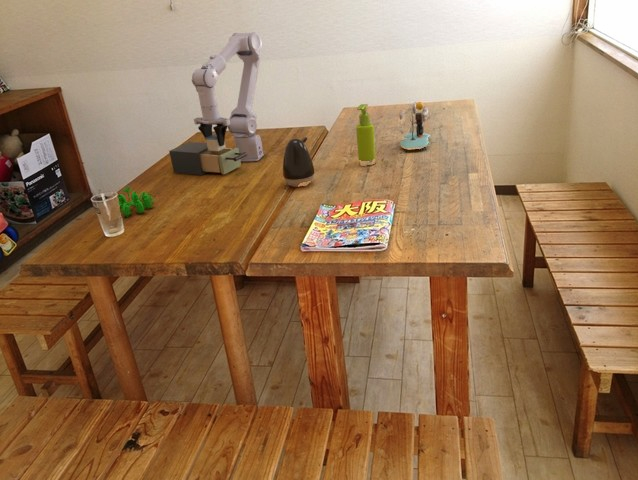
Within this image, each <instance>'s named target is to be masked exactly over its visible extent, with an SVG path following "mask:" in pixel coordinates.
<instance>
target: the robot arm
mask: <svg viewBox="0 0 638 480" xmlns="http://www.w3.org/2000/svg"><path fill="white" fill-rule="evenodd" d="M262 47H263V41H262V39H261V37H260V35H259V34H258V33H257V32H256V31H252V32H233V33H232V34H231V36H229V38H228V42H227V43H226V44H225V46H224V47H223V48H222V49H221V51H220V52H219V53H218V54H210V56H209V59H208V60H207V61H206V62H205V63H203V64H202V65H201V67H200V68H197V69H195V70H194V71H193V73H192V75H191V76H192V77H191V78H192V79H191V83H192V85H193V86H194V88H195V91H196V93H197V96H198V100H199V105H200V111H201V116H202V117H195V118H193V122H194V125H199V126H198V130H199V131H200V133H201V134H202V136H203V137H204V139H205V140H206V137H208V136H211V135H213V131H214V134H216V135H217V139H218V143H219V146H223V145H224V142H225V143H226V141H225V140H226V132H227V129H228V131H229V132H230V133H231V135H232V137H233V138H234V144H235V148H239V153H244V152H246V153H247V156H245V157H243V158H241V159H240V160H241V163H242V162H258V161H259V160H261V159H262V158H263V157H264V156H265V153H264V149H263V142H262V138H261V135H260V134H256V132H257V128H258V127H257V126H258V123H257V118H258V117H257V115H256V112H254V111H253V106H254V105H253V104H254V98H255V92H256V87H257V80H258V74H259V69H260V59H261V52H262ZM235 55H237V57H238V58H239V59H240V60H242V62H243V67H242V74H241V81H240V86H239V91H238V98H237V103H236V104H237V105H236V107H235V108H234V109H233V110H231V112H230V116H229V118H225V117H222V116H220V112H219V107H218V101H217V95H216V90H215V86H216V85H217V80H218V77H219V76H220V75H221V74H222V73H223V71H224V70H225V69H226V68H227V62H228V61H230V60H231V59H232V58H233V57H234V56H235ZM213 125H214V126H213Z"/></svg>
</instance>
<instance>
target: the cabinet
mask: <svg viewBox="0 0 638 480" xmlns="http://www.w3.org/2000/svg"><path fill="white" fill-rule="evenodd" d="M207 150H208V147H207V142H197V141H195V142H194V141H188V142H186V143H184V144H181V145H179V146H177V147H174V148H172V149H170V150H168V153H169V156H170V161H171V167H172V170H173V174H182V175H194V176H204V175H205V174H207V173H209V172H206V171H202V167H201V162H200V157H199V154H200V153H203V152H205V151H207Z"/></svg>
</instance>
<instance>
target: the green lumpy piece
mask: <svg viewBox="0 0 638 480" xmlns="http://www.w3.org/2000/svg"><path fill="white" fill-rule="evenodd" d="M130 191H132V188H131V187H126V188H124V189H123V192H124V193H127V196H128V201H129V202H128V201H127V198H126V197H125V196H124V194H122V193H120V194H118V195H117V198H119V199H118V200H119V202H118V203H119V204H118V205H119V209H120V212H121V214H122V213H123V215H124V216H125V217H126V218H128V217H130V215H131V213H132V212H131V208H130V207H131V206H134V207H135V209H136V212H137V213H139V214H144V212H145V209H148V210H150V209H152V208H153V207H154V205H155V199H154V198H153V197H152V195H151V193H150V192H148V191H143V192H141V193H140V194H139V195H138V193H137V191H135V190H133V191H132V193H131V195H130V193H129V192H130ZM152 203H153V204H152Z"/></svg>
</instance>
